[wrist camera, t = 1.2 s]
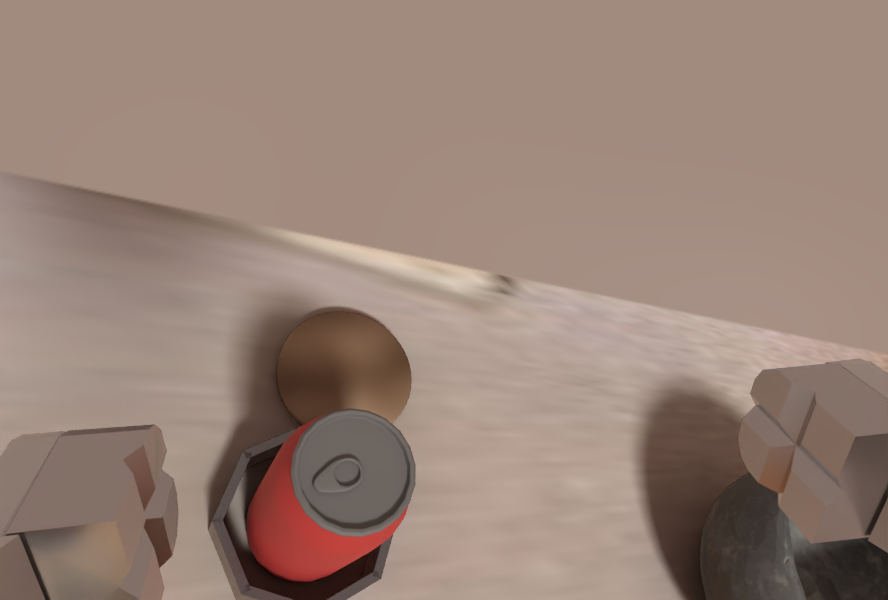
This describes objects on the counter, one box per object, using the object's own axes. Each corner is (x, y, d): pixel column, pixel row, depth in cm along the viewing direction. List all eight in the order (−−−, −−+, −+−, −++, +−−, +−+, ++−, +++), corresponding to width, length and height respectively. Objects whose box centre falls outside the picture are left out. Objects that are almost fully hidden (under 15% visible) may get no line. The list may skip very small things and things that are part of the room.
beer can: (227, 492, 36) (256, 425, 26) (332, 451, 39) (391, 378, 30) (267, 606, 34) (314, 578, 24) (374, 552, 37) (451, 509, 28)
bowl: (814, 524, 52) (934, 496, 44) (835, 738, 43) (990, 752, 35) (663, 458, 49) (763, 415, 41) (654, 670, 40) (777, 669, 32)
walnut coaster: (254, 339, 41) (255, 334, 40) (371, 302, 46) (375, 296, 45) (311, 464, 38) (314, 460, 38) (429, 410, 43) (433, 406, 43)
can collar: (189, 483, 35) (192, 471, 33) (340, 419, 41) (349, 405, 39) (256, 651, 33) (263, 650, 31) (408, 559, 38) (422, 553, 36)
